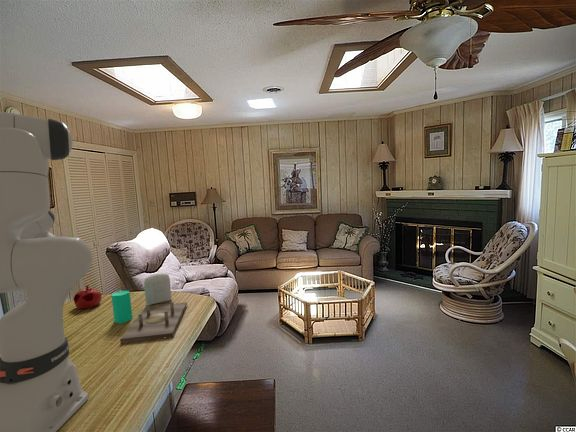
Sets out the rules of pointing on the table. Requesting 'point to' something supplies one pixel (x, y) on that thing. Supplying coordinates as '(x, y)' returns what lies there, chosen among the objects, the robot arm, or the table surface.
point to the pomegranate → (87, 298)
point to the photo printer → (157, 288)
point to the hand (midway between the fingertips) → (82, 272)
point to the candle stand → (155, 322)
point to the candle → (121, 306)
